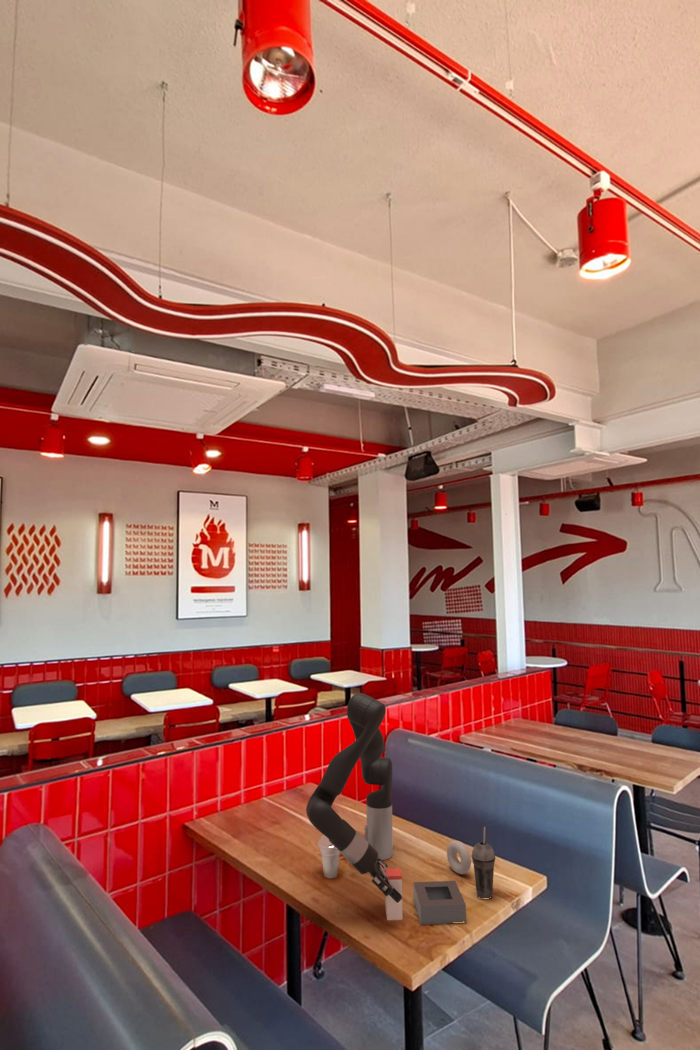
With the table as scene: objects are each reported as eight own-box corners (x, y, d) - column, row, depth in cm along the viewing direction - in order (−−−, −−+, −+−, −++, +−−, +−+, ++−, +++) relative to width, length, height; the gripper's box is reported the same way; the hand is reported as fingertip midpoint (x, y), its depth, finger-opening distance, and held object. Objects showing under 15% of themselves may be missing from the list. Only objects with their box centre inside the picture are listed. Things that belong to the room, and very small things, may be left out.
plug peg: (387, 920, 164) (386, 876, 165) (385, 911, 169) (385, 868, 170) (402, 919, 164) (401, 875, 166) (400, 910, 169) (399, 868, 170)
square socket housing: (420, 924, 162) (420, 906, 162) (413, 899, 175) (413, 882, 175) (466, 923, 162) (465, 904, 163) (455, 897, 175) (455, 880, 176)
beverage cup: (467, 895, 176) (466, 828, 178) (480, 886, 182) (479, 821, 183) (488, 905, 171) (486, 835, 173) (501, 895, 176) (499, 828, 178)
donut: (473, 877, 187) (473, 845, 188) (466, 881, 185) (465, 848, 186) (452, 865, 195) (451, 834, 196) (444, 868, 193) (444, 837, 194)
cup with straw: (320, 883, 184) (320, 818, 186) (315, 869, 193) (314, 808, 195) (346, 879, 187) (345, 815, 189) (339, 866, 195) (339, 805, 197)
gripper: (369, 853, 161) (410, 895, 160) (365, 831, 175) (403, 869, 175) (350, 874, 160) (392, 916, 160) (348, 850, 174) (386, 888, 174)
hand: (398, 891), depth 167 cm, fingers open, 8 cm apart
